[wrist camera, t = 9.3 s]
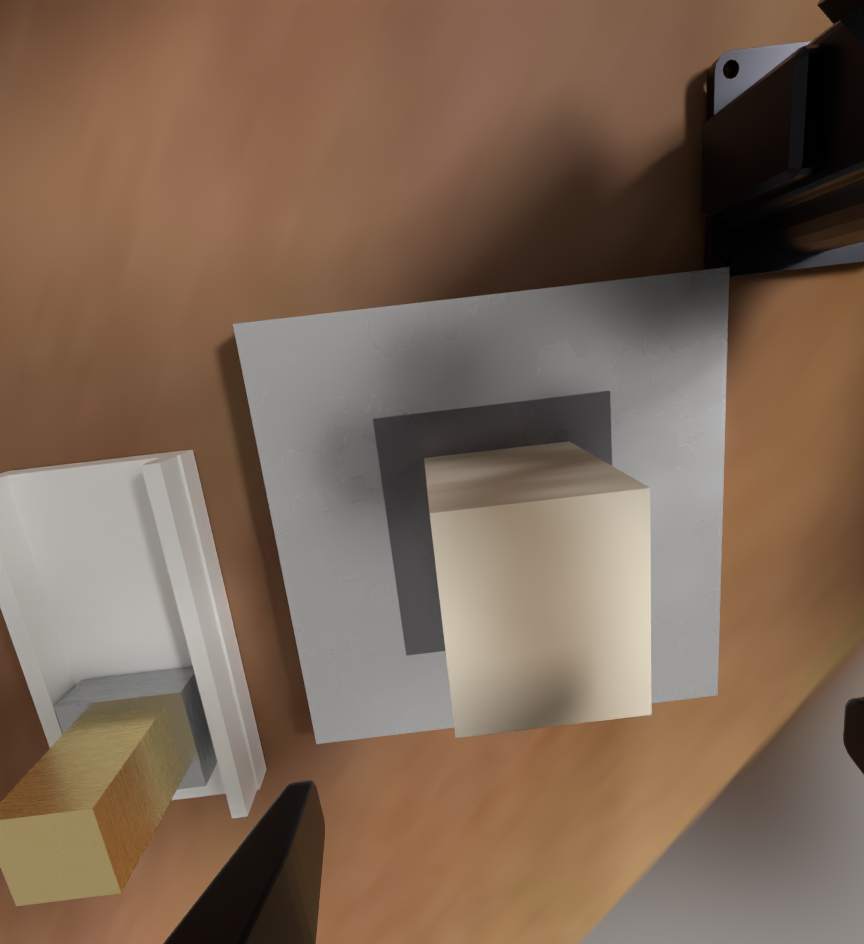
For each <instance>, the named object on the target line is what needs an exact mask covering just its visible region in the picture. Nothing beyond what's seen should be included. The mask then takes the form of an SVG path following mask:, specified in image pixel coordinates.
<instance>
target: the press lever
mask: <svg viewBox="0 0 864 944" xmlns="http://www.w3.org/2000/svg"><path fill="white" fill-rule="evenodd" d="M54 708H55V711H56V714H57V717H58V720H59V723H60V726H61V729H62V732H63V735H62V736H61V737H60V738H59V739H58V740H57V741H56V742H55V743H54V744H53V745H52V747H51V748H50V749H49V750H48V751H47V752H46V753H45V754H44V755H43V756H42V757H41V759H40V760H39V761H38V762H37V763H36V764H35V765H34V766H33V767H32V768H31V769H30V771H29V772H28V773H27V774H26V775H25V776H24V777H23V778H22V779H21V780H20V781H19V782H18V784H17V785H16V786H15V787H14V788H13V789H12V790H11V791H10V792H9V793H8V794H7V796H6V797H5V798H4V799H3V800H2V801H1V802H0V868H1V870H2V873H3V875H4V877H5V880H6V882H7V885H8V887H9V890H10V892H11V895H12V897H13V900H14V902H15V904H16V906H22V905H30V904H38V903H46V902H54V901H62V900H70V899H78V898H86V897H95V896H103V895H111V894H119V893H122V891H123V889H124V887H125V885H126V883H127V881H128V880H129V878H130V876H131V874H132V872H133V870H134V868H135V867H136V865H137V863H138V861H139V859H140V857H141V856H142V854H143V852H144V850H145V848H146V846H147V844H148V843H149V841H150V839H151V837H152V835H153V833H154V831H155V830H156V828H157V826H158V824H159V822H160V820H161V819H162V817H163V815H164V813H165V811H166V809H167V807H168V806H169V804H170V802H171V800H172V798H173V796H174V794H175V793H176V791H177V790H178V789H186V788H194V787H202V786H206V785H207V783H208V781H209V779H210V777H211V775H212V773H213V770H214V768H215V766H216V764H217V758H216V754H215V750H214V747H213V743H212V739H211V735H210V731H209V727H208V723H207V719H206V716H205V712H204V708H203V704H202V700H201V696H200V692H199V688H198V685H197V681H196V677H195V673H194V669H193V666H192V667H184V668H175V669H167V670H159V671H150V672H142V673H134V674H126V675H117V676H109V677H101V678H92V679H84V680H81V681H80V682H79V683H78V684H77V685H76V686H75V687H74V688H73V689H72V690H71V691H70V692H69V693H68V694H67V695H66V696H65V697H64V698H63V699H62V700H61V701H60V702H59V703H58V704H57V705H56V706H55V707H54Z"/></svg>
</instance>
